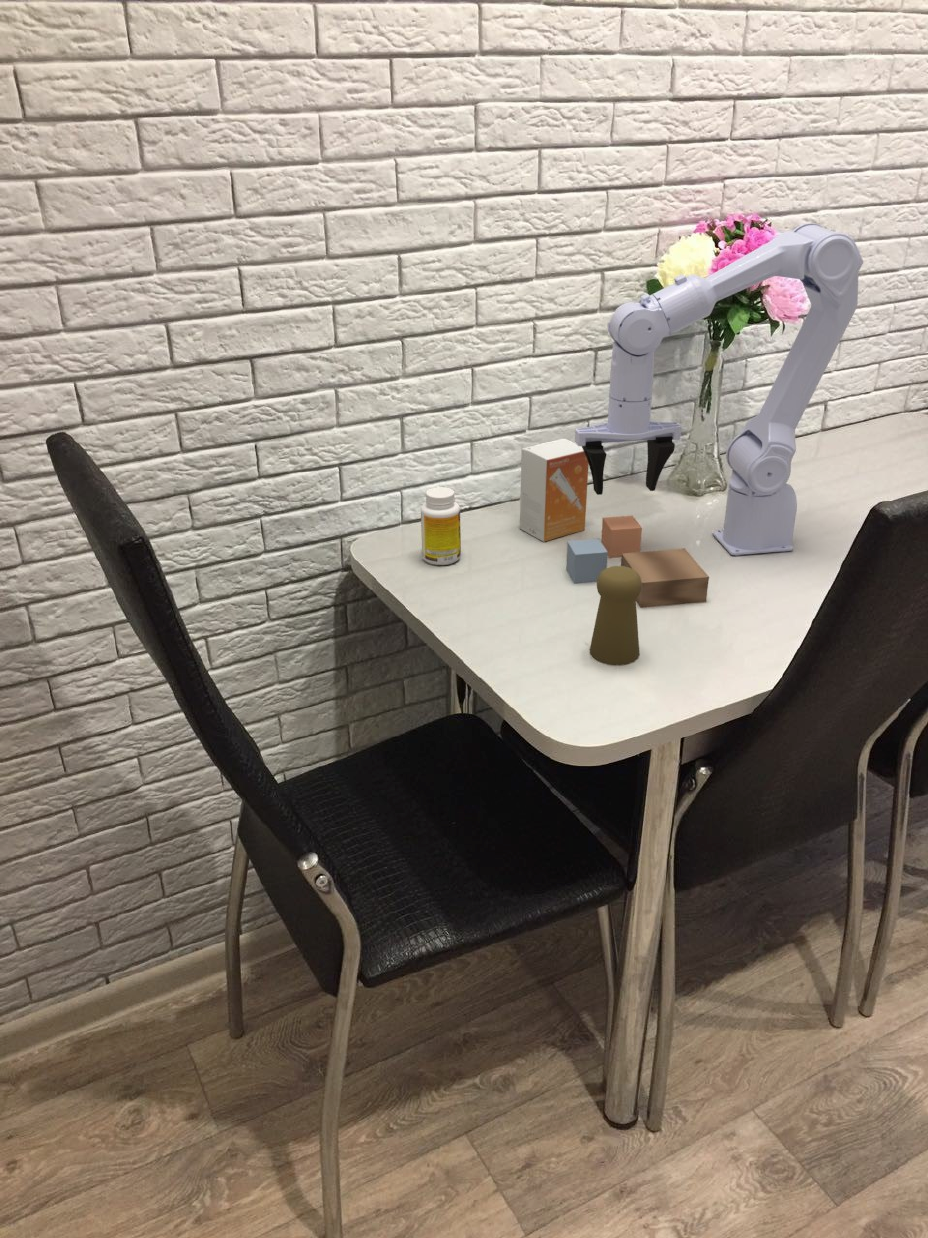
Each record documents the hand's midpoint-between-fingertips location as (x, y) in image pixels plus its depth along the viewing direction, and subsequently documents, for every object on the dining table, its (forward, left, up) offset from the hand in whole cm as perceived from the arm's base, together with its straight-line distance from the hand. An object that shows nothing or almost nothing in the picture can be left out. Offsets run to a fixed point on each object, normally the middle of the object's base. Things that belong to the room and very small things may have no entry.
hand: (624, 490), depth 146 cm
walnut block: (-2, +13, -10) cm, 16 cm away
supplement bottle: (+26, -2, -10) cm, 28 cm away
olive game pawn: (+9, +28, -10) cm, 31 cm away
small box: (+8, -9, -10) cm, 15 cm away
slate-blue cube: (+7, +7, -10) cm, 14 cm away
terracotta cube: (0, 0, -10) cm, 10 cm away
